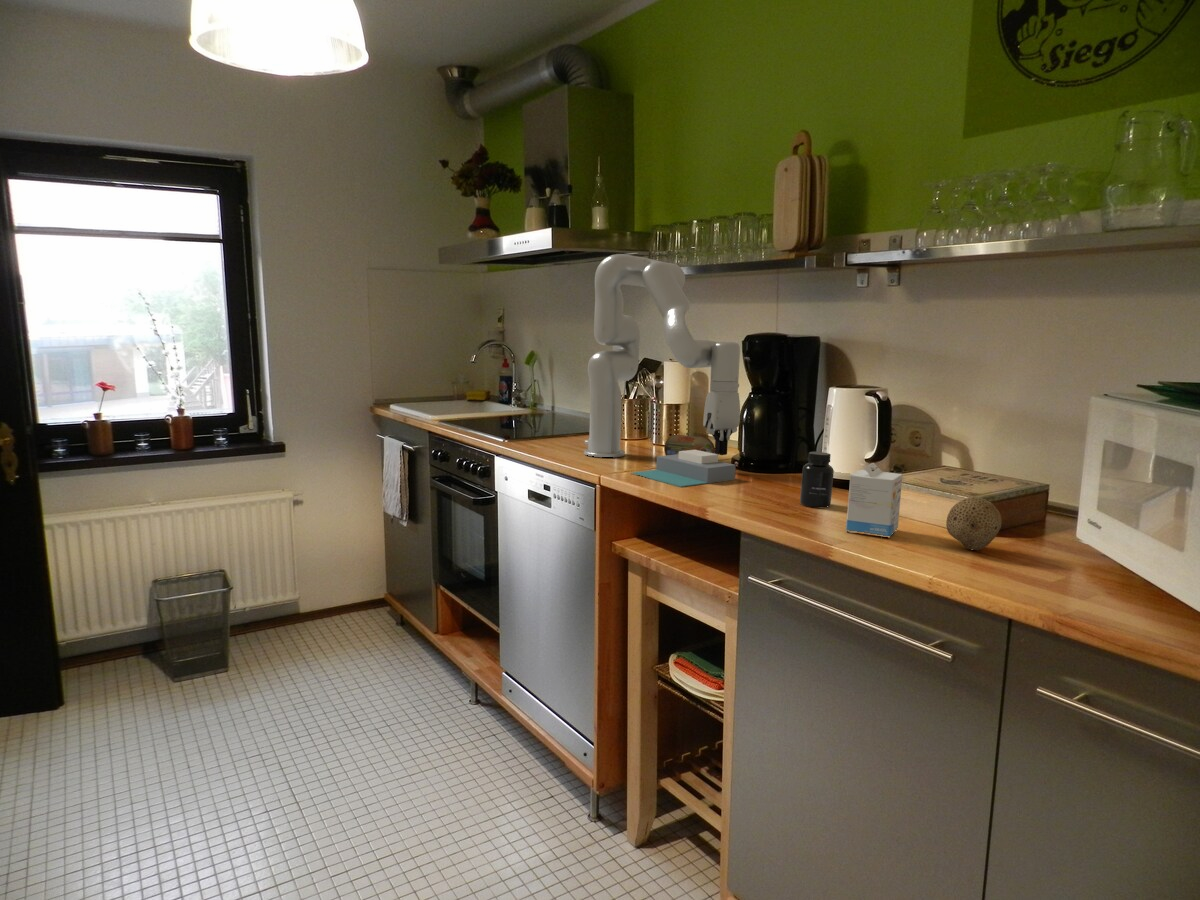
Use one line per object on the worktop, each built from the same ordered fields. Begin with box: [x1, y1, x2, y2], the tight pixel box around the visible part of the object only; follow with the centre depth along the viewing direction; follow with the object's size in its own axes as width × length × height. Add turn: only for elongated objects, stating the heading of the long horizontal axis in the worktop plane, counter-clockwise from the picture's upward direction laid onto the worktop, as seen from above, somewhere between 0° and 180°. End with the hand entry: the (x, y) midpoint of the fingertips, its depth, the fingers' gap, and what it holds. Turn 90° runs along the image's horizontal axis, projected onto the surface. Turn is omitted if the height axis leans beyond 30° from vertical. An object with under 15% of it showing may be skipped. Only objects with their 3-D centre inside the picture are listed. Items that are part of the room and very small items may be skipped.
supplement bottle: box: [799, 451, 835, 508], centre depth 175 cm, size 7×7×12 cm
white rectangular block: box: [678, 450, 719, 464], centre depth 208 cm, size 9×6×2 cm, turn 36°
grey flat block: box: [655, 454, 737, 485], centre depth 207 cm, size 20×10×4 cm, turn 36°
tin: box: [663, 434, 715, 456], centre depth 225 cm, size 15×3×8 cm, turn 62°
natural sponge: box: [945, 496, 1003, 551], centre depth 141 cm, size 9×9×10 cm
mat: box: [631, 469, 707, 488], centre depth 202 cm, size 20×9×1 cm, turn 36°
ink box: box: [845, 462, 903, 537], centre depth 153 cm, size 9×8×13 cm
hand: (720, 454), depth 212 cm, fingers closed
